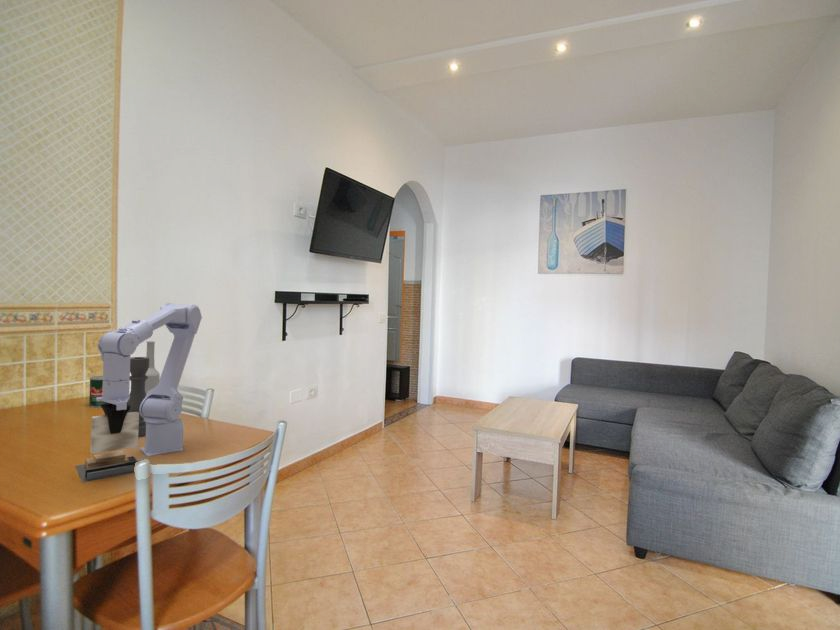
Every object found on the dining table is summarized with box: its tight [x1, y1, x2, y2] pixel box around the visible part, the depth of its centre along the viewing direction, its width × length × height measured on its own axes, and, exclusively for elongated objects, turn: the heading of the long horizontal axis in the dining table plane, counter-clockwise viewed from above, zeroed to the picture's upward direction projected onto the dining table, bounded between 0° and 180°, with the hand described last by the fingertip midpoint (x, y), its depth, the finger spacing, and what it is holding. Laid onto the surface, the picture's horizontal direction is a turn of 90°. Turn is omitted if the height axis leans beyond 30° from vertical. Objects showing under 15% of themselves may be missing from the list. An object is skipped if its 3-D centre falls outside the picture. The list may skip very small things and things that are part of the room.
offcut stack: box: [84, 450, 129, 469], centre depth 120 cm, size 9×5×2 cm, turn 134°
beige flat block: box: [89, 412, 139, 455], centre depth 115 cm, size 10×2×9 cm, turn 134°
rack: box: [74, 455, 138, 484], centre depth 117 cm, size 13×13×2 cm
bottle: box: [145, 340, 161, 395], centre depth 165 cm, size 7×7×28 cm
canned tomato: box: [88, 375, 107, 408], centre depth 178 cm, size 8×8×11 cm
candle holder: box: [127, 356, 149, 439], centre depth 144 cm, size 6×6×25 cm
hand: (114, 432), depth 115 cm, fingers closed on beige flat block, 1 cm apart
